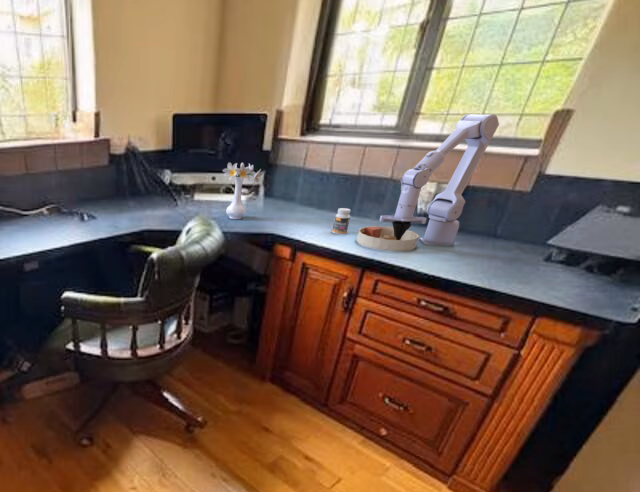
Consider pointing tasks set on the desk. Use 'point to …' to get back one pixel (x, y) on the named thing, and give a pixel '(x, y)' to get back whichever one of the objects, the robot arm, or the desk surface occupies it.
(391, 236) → the beech block
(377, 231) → the terracotta block
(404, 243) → the bowl
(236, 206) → the flower vase
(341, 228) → the pill bottle
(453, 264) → the desk surface
